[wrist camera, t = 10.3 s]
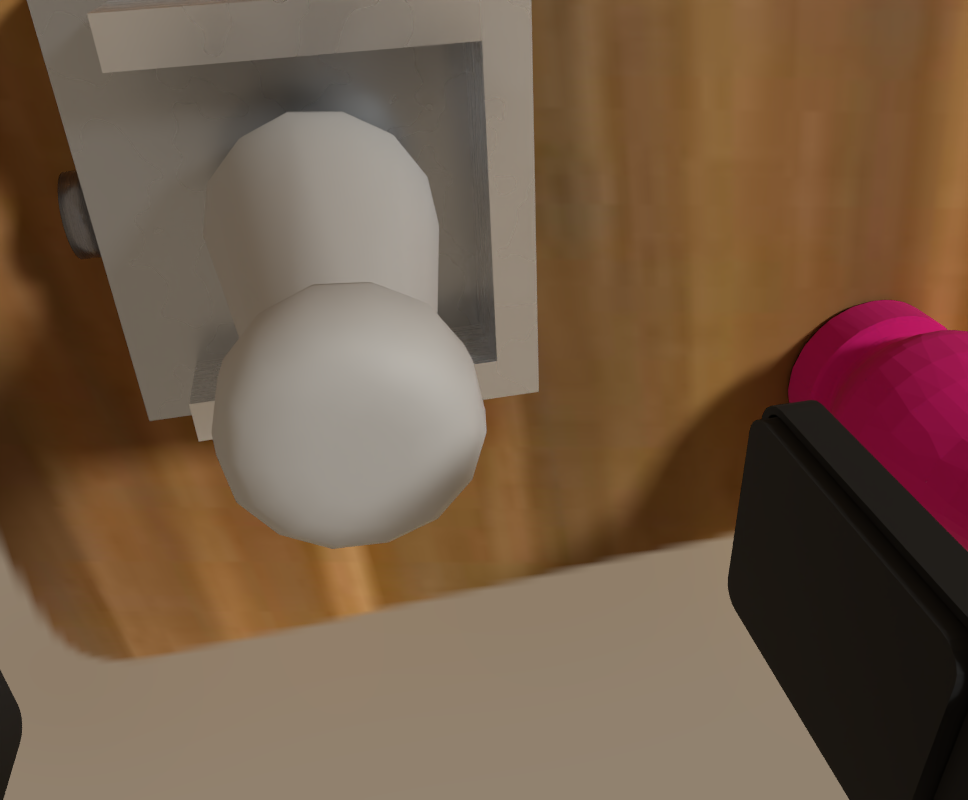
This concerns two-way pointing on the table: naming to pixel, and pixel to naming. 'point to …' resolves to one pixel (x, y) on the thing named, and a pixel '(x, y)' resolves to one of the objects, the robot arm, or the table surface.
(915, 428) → the pepper mill
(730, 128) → the table surface
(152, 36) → the grey square tray
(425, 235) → the salt shaker
